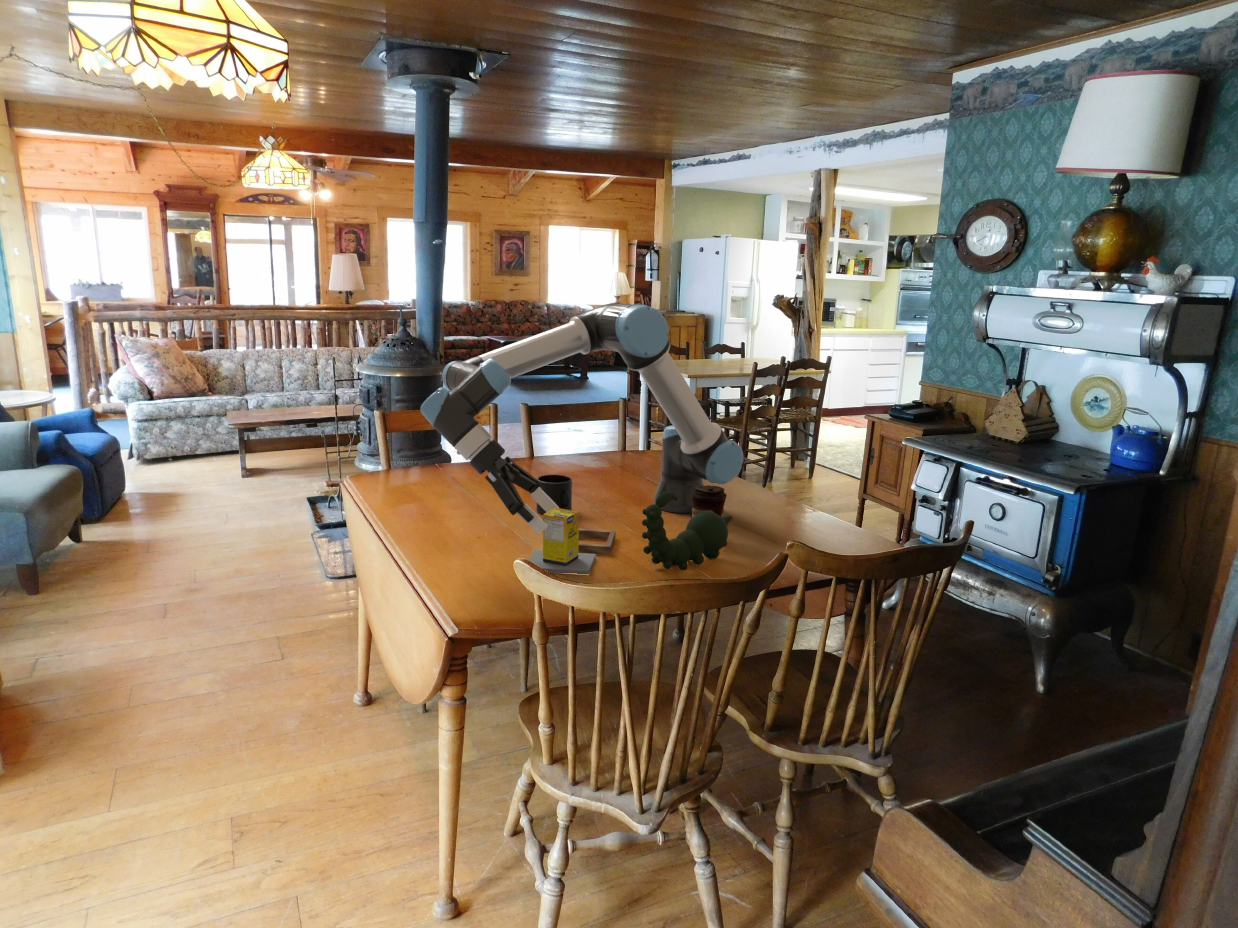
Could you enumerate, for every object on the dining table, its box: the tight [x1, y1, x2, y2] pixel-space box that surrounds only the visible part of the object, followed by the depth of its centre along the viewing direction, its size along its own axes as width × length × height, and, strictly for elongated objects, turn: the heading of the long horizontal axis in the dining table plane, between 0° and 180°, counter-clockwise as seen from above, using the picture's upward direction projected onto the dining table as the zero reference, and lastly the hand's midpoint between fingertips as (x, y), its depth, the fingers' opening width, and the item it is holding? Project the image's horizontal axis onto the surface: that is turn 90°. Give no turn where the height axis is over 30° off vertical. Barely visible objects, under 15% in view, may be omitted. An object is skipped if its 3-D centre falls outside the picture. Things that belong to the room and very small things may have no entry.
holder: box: [578, 528, 616, 556], centre depth 187 cm, size 12×12×2 cm
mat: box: [528, 549, 597, 575], centre depth 174 cm, size 14×11×1 cm
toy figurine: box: [641, 492, 733, 571], centre depth 176 cm, size 9×19×25 cm
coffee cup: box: [691, 485, 727, 518], centre depth 193 cm, size 9×8×13 cm
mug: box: [536, 474, 573, 515], centre depth 212 cm, size 9×12×9 cm
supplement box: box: [542, 508, 580, 566], centre depth 173 cm, size 6×6×11 cm
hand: (549, 520), depth 172 cm, fingers open, 13 cm apart
